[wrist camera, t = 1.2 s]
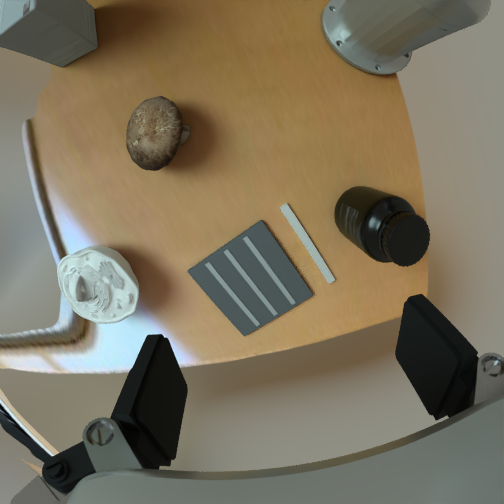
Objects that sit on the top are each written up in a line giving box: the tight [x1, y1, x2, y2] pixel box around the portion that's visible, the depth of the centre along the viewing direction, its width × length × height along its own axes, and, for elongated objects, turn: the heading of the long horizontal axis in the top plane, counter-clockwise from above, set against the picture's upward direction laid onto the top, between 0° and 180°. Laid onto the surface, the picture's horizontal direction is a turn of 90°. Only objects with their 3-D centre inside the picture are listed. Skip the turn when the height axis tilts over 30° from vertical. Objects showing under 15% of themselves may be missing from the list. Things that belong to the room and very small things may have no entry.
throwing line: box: [280, 203, 335, 284], centre depth 34 cm, size 1×12×1 cm, turn 35°
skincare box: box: [0, 0, 98, 67], centre depth 15 cm, size 8×7×16 cm
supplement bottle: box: [334, 186, 430, 267], centre depth 27 cm, size 7×7×12 cm
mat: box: [188, 220, 313, 336], centre depth 35 cm, size 11×12×1 cm
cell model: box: [57, 246, 139, 324], centre depth 31 cm, size 10×12×7 cm
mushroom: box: [126, 96, 191, 171], centre depth 26 cm, size 8×8×6 cm
